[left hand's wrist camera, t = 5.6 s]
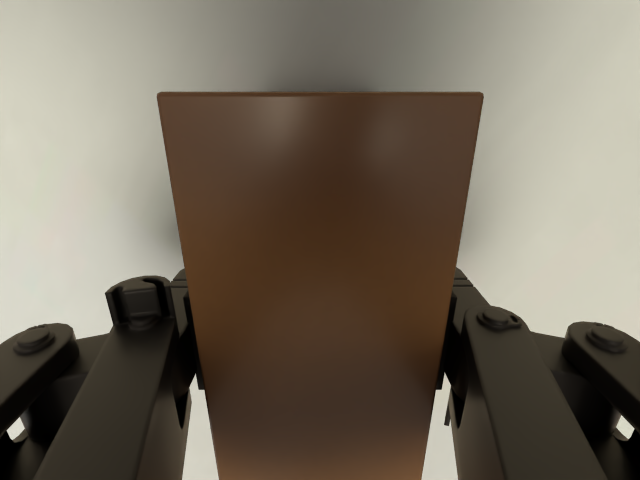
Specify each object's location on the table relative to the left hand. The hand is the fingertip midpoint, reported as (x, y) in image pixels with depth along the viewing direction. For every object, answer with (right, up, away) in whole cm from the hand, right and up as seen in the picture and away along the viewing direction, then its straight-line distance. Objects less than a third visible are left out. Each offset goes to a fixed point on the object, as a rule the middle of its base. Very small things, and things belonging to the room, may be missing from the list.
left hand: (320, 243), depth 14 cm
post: (0, -20, +9) cm, 22 cm away
